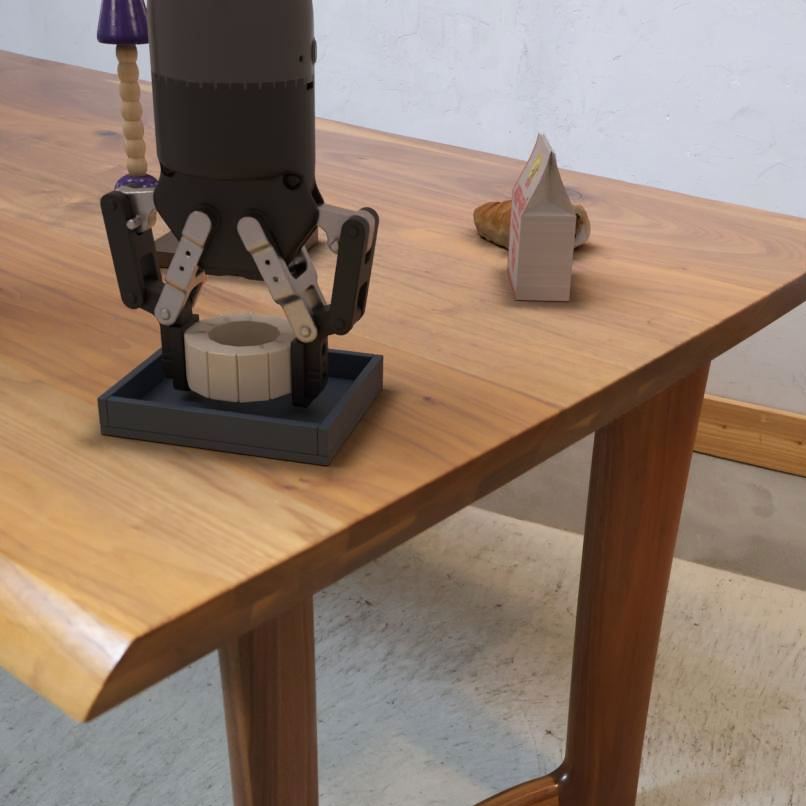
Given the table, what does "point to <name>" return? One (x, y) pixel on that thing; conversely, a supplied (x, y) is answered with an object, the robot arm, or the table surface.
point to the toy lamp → (128, 79)
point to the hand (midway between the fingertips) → (246, 392)
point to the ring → (239, 357)
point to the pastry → (496, 223)
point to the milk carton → (541, 230)
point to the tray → (244, 412)
